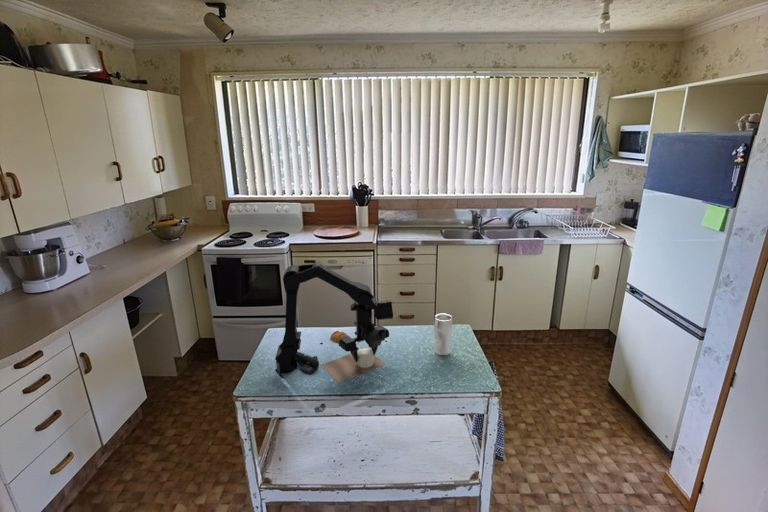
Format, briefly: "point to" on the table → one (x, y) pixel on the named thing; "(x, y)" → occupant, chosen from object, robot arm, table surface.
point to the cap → (365, 358)
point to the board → (348, 367)
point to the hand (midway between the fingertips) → (365, 358)
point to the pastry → (337, 336)
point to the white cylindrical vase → (442, 333)
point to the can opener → (307, 363)
